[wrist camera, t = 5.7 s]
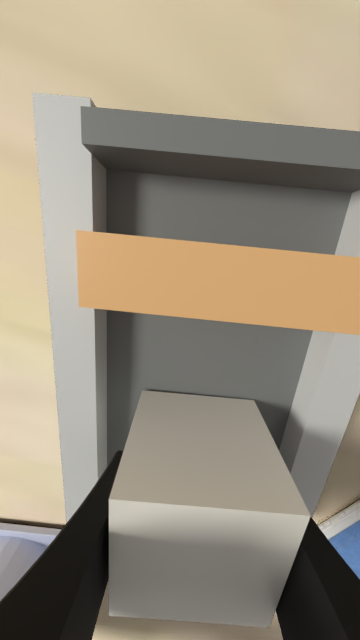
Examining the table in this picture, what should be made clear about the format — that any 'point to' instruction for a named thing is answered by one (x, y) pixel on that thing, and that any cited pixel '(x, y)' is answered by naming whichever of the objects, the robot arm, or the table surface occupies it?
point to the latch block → (218, 282)
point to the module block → (201, 514)
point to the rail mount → (200, 226)
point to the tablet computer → (345, 535)
